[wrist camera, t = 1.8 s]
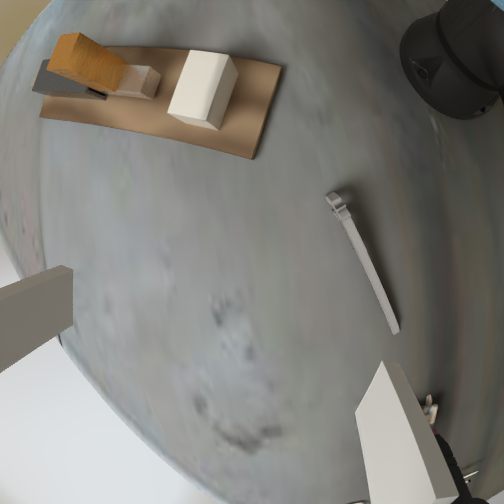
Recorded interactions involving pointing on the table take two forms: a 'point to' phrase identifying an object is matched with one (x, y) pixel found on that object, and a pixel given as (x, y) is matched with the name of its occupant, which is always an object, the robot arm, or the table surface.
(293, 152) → the table surface
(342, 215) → the caliper
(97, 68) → the stacked block assembly
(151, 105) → the base board
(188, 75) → the socket block
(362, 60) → the table surface
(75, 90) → the outer sleeve
